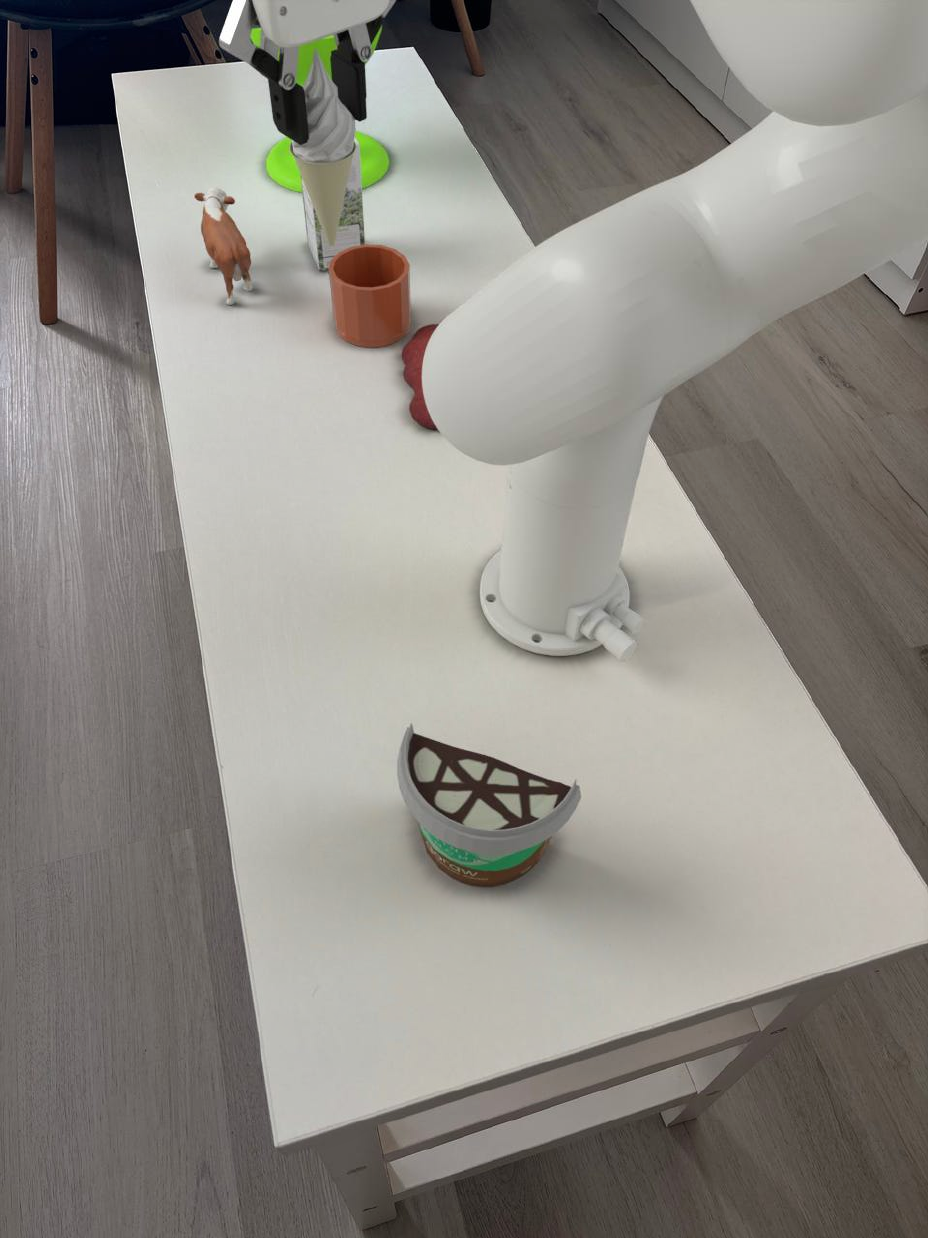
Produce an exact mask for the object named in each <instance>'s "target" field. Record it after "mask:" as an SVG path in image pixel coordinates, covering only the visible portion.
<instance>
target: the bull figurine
mask: <svg viewBox="0 0 928 1238" xmlns="http://www.w3.org/2000/svg"><path fill="white" fill-rule="evenodd" d="M194 199H195V200H196V201H198V202H204V205H203V208H202V219H201V224H200V230H201V231H200V232H201V235H202V239H203V242H204V246H205V251H206V253H207V255H208V256H209V259H210V263H209V268H210V269H219V271H220V272H221V274H222V277H223V281H224V284H225V289H226V292H227V299H226V301H225V304H226V305H227V306H232V305H234V304H235V297H234V294H233V293H234V283H233V281H234V282H239V281H241V279H242V280H243V283H244V284H243V290H244V291H246V292H253V281H252V277H251V275H250V273H249V270H250V267H251V265H252V258H251V251H250V249H249V248H248V246H247V241H246V239H245V238H244V236H243V235H242V232H241V231H240V229H239V228H238V227H237V224H236V222H235V221H234V219H233V218H232V217H231V215H230V214H229V213H228V212H227V210H228V207H229V206H230V205H231V206H232V205H234V204H236V200H235V198H233V196H230V195H229V196H227V193H226V191H225V190H223V189H222V188H219V187H216V186H215V187H214V186H212V187H209V189H207V193H204V192H196V193H195V194H194Z"/></svg>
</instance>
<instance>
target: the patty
mask: <svg viewBox="0 0 928 1238" xmlns="http://www.w3.org/2000/svg"><path fill="white" fill-rule="evenodd" d="M439 324H440V323H431V324H427V325H426V324H425V325H423V326H422V327H420V328H418V330H416V331H415V333H414V334H413V336H412V338H411V339H410V340H409V341H408V342H407V343H406V344H405V346H404V347H403V348H402V350H401V359H402V362H403V363H404V368H403V378H404V381H405V382H406V384H407V385H408V386H409V387H410V388H411V389H412V390H413V392H414V396H413V397H412V399H411V400H410V403H409V405H408V411H409V415H410V417H411V419H412V420H413V421H414V422H415V423H417V424H418V425H420V426H422V427H424V428H427V429H433V430H438V429H437V427H436V425H435V424H434V422H433V420H432V418H431V416H430V414H429V412H428V409H427V406H426V403H425V399H424V394H423V388H422V365H423V359H424V354H425V350H426V347H427V345H428V342H429V340H430V338H431V336H432V334H433V332H434V331H435V329H436V328H437V327H438V325H439Z"/></svg>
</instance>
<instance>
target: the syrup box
mask: <svg viewBox="0 0 928 1238" xmlns="http://www.w3.org/2000/svg"><path fill="white" fill-rule="evenodd" d="M354 141H355V143H356V150H355V152H354V154H353V158H352V163H351V168H350V172H349V177H348V182H347V187H346V191H345V196H344V201H343V206H342V211H341V216H340V221H339V225H338V230H337V235H336V240H335V244H334V245H333V246H330V245H329V244H328V242H327V239H326V237H325V234H324V232H323V229H322V227H321V224H320V222H319V219H318V217H317V214H316V212H315V209H314V207H313V204H312V202H311V199H310V197H309V194H308V192H307V189H306V187H305V184H304V182H303V179H302V177H301V185H302V193H301V194H302V203H303V210H304V211H303V212H304V220H305V230H306V240H307V245H308V247H309V250H310V252H311V255H312V257H313V260H314V261H315V264H316V266H317V269H318V271H320V272H324V271H329V265H330V261H331V260H332V259H333V258H334V257H335V256H336V255H337V254H338V253H339V252H341V251H343V250H345V249H348V248H350V247H354V246H359V245H365V244H366V235H365V234H366V233H365V218H364V204H363V203H364V202H363V201H364V200H363V188H362V180H361V161H360V146H359V143H358V141H357V140H356V138H355V139H354ZM300 176H301V174H300Z"/></svg>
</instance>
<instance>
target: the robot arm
mask: <svg viewBox="0 0 928 1238" xmlns="http://www.w3.org/2000/svg"><path fill="white" fill-rule="evenodd" d="M396 1H397V0H232V2H231V5H230V7H229V11H228V13H227V15H226V18H225V22H224V24H223V27H222V29H221V33H220V36H219V39H218V44H219V47H220V48H221V50H223V51H225V52H227V53H229V54H230V55H232V56H234V57H235V58H236V59H239V60H241V61H243V62H245V63H246V64H247V65H249V66H251V67H252V68H253V69H254V70H255V71H256V72H258V73H259V74H260V75H261V76H262V77H264V78H266V79H267V83H268V91H269V99H270V106H271V107H270V108H271V114H272V115H271V116H272V121H273V123H274V125H275V127H276V129H277V131H278V132H279V133H281V134H282V135H284V136H285V137H288V138H290V139H291V140H293V141H295V142H296V143H298V144H299V145H303V144H305V143H307V142H308V140H309V131H308V121H307V111H306V101H305V91H304V88H303V86H301V85H299V84H297V83H296V77H297V66H298V55H299V46H301V45H304V44H308V43H311V42H314V41H317V40H320V39H323V38H325V37H328V36H331V35H333V36H334V39H335V43H336V46H337V49H336V50H333V51H331V57H330V62H331V75H332V81H333V83H334V84H335V85H336V86H337V88H338V98H339V100H340V101H341V103H342V104H344V105H345V106H346V108H347V109H348V110H349V112H350V113H351V114H352V116H353V117H354V118H355V121H357V122H359V123H360V122H363V121H365V120H366V119H367V118H368V112H367V97H368V96H367V94H368V93H367V76H366V65H365V62H367V61H368V60H369V61H370V60H371V58H372V57H373V55H372V46H371V44H372V43H373V41H374V39H375V37H376V35H377V33H378V31H379V29H380V28H381V25H382V26H383V21H384V20H383V19H385V18H386V17H387V15H388V14H389V12H390V10H391V9H392V8H393V6H394V5H395V3H396ZM689 1H690V3H691V5H692V7H693V8H694V11H695V12H696V14H697V17H698V18H699V19H700V22H701V25H702V26H703V27H704V29H705V32H706V33H707V35H708V37H709V39H710V40H711V42H712V44H713V46H714V47H715V49H716V51H717V52H718V54H719V55H720V57H721V59H722V60H723V61H724V63H725V64H726V65H727V66H728V68H729V69H730V71H731V72H732V73H733V75H734V77H735V78H736V79H737V80H738V81H739V83H740V84H741V85H742V86H743V88H744V89H745V91H747V92H748V93H749V94H751V95H752V96H753V97H754V98H755V99H756V100H757V101H758V102H759V103H760V104H762V105H763V106H764V107H766V108H767V109H768V110H770V111H772V112H770V114H769V115H767V116H766V117H765V118H764V119H763V120H761V121H760V122H759V123H758V124H757V125H756V126H754V127H753V128H752V129H750V130H748V131H747V132H746V133H744V134H742V136H740V137H739V138H737V139H736V140H734V141H733V142H731V143H730V144H729V145H727V146H726V147H725V148H723V149H722V150H720V151H719V152H717V153H716V154H714V155H712V156H711V157H710V158H707V160H705V161H703V162H702V163H700V164H698V165H697V166H695V167H693V168H691V169H689V170H687V171H686V172H684V173H681V174H679V175H677V176H674V177H672V178H669V179H667V180H664V181H662V182H659V183H656V184H654V185H652V186H650V187H648V188H645V189H642V190H640V191H639V192H637V193H635V194H632V195H630V196H628V197H626V198H624V199H623V200H620V201H618V202H616V203H614V204H612V205H610V206H608V207H606V208H604V209H602V210H600V211H598V212H596V213H594V214H592V215H590V216H587V217H586V218H584V219H582V220H579V221H578V222H575V223H574V224H572V225H569V226H568V227H566V228H564V229H562V230H560V231H558V232H557V233H554V235H552V236H550V237H549V238H547V239H545V240H544V241H542V242H541V243H539V244H537V245H536V246H534V247H533V248H531V249H530V250H529V251H527V252H526V253H524V254H523V255H522V256H520V257H519V258H517V259H516V260H515V261H514V262H512V263H511V264H510V265H508V266H507V267H506V268H505V269H504V270H502V271H501V272H500V273H499V274H497V275H496V276H495V277H494V278H493V279H491V280H490V281H489V282H488V283H486V284H485V285H484V286H483V287H482V288H480V289H479V290H478V291H476V292H475V293H474V294H473V295H471V296H470V297H469V298H468V299H467V300H465V301H464V302H462V304H460V305H459V306H458V307H457V308H456V309H454V310H453V311H451V313H449V314H448V315H447V316H445V317H444V319H442V321H441V322H440V323H438V324H439V325H438V327H437V328H436V329H435V331H434V332H433V334H432V336H431V338H430V340H429V342H428V345H427V347H426V350H425V354H424V359H423V365H422V388H423V394H424V399H425V403H426V406H427V409H428V412H429V414H430V416H431V418H432V420H433V422H434V424H435V425H436V427H437V429H436V430H437V431H438V432H439V433H440V434H441V435H442V437H443V438H444V439H445V440H446V441H447V442H448V443H449V444H451V446H452V447H454V448H455V449H456V450H457V451H459V452H461V453H462V454H464V455H465V456H467V457H469V458H470V459H473V460H475V461H478V462H481V463H483V464H487V465H495V466H507V468H506V481H505V482H506V483H505V497H504V508H503V522H502V523H503V524H502V537H501V548H500V550H497V552H496V553H495V554H494V555H493V556H492V557H491V558H490V559H489V561H488V562H487V564H486V565H485V567H484V569H483V571H482V575H481V578H480V584H479V599H480V600H479V601H480V606H481V608H482V612H483V614H484V617H485V618H486V619H487V622H488V623H489V625H490V626H491V627H492V628H493V629H494V630H495V632H497V633H498V635H500V636H501V638H502V637H503V638H504V639H505V640H506V641H508V642H509V643H511V644H513V645H515V646H516V647H518V648H521V649H522V650H525V651H528V652H532V653H535V654H537V655H538V654H539V655H546V656H552V657H564V656H566V657H567V656H574V655H579V654H583V653H586V652H589V651H592V650H595V649H597V648H599V647H600V646H603V647H604V648H605V649H606V651H608V652H609V653H610V654H612V655H613V656H614V657H615V658H616V659H617V660H619V661H620V662H621V663H623V662H626V661H627V660H629V658H630V657H631V656H633V654H634V653H635V651H636V650H637V649H638V642H637V641H635V640H634V639H633V637H630V636H629V635H628V634H627V633H626V632H625V631H624V630H622V629H621V627H622V626H624V627H626V628H627V629H628V630H629V631H631V632H632V633H633V634H636V633H639V631H641V630H642V628H643V627H644V626H645V623H646V619H645V618H644V617H642V616H641V615H640V614H638V613H637V612H636V611H635V610H632V609H631V608H629V606H630V596H631V594H630V593H631V592H630V588H629V583H628V580H627V578H626V575H625V573H624V571H623V570H622V568H621V567H620V561H621V557H622V551H623V548H624V542H625V537H626V533H627V528H628V524H629V519H630V515H631V511H632V505H633V502H634V496H635V491H636V486H637V482H638V479H639V477H640V471H641V467H642V462H643V458H644V455H645V450H646V446H647V442H648V438H649V434H650V431H651V428H652V426H653V422H654V419H655V417H656V414H657V412H658V410H659V408H660V405H661V403H662V400H663V398H664V396H665V395H667V394H669V393H670V392H672V391H673V390H674V389H676V388H677V387H679V386H681V385H682V384H684V383H686V382H687V381H689V380H690V379H692V378H693V377H695V376H697V375H698V374H700V373H702V372H703V371H705V370H706V369H708V368H709V367H712V365H714V364H715V363H716V362H718V361H720V360H721V359H723V358H724V357H725V356H727V355H728V354H730V353H731V352H733V351H734V350H736V349H737V348H738V347H740V346H741V345H742V344H744V342H745V343H746V341H748V340H749V339H750V338H751V337H752V336H754V335H755V334H757V333H758V332H759V331H761V330H763V329H764V328H765V327H767V326H769V325H770V324H772V323H774V322H775V321H777V320H779V319H780V318H782V317H784V316H786V315H789V314H790V313H791V312H793V311H795V310H798V309H799V308H801V307H803V306H805V305H807V304H809V303H811V302H813V301H816V300H819V299H820V298H821V297H823V296H825V295H827V294H830V293H832V292H833V291H836V290H838V289H840V288H842V287H843V286H845V285H847V284H849V283H851V282H852V281H854V280H856V279H857V278H860V277H861V276H863V275H865V274H867V273H869V272H871V271H872V270H875V269H876V268H878V267H880V266H882V265H884V264H886V263H888V262H890V261H892V260H894V259H896V258H898V257H899V256H901V255H903V254H905V253H906V252H908V251H910V250H912V249H914V248H915V247H917V246H919V245H921V244H922V243H924V242H926V241H928V0H689ZM253 28H261V37H260V47H258V46H256V45H254V43H253V42H252V40H251V38H250V35H251V32H252V29H253ZM279 46H280V53H279V61H278V51H279ZM369 61H368V62H369ZM368 62H367V63H368Z"/></svg>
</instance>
